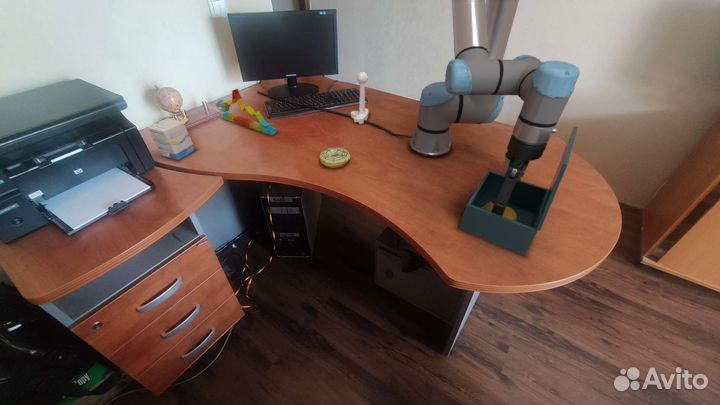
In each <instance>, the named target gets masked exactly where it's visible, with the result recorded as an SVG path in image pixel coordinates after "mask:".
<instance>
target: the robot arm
mask: <svg viewBox="0 0 720 405" xmlns="http://www.w3.org/2000/svg"><path fill="white" fill-rule="evenodd" d="M519 1H520V0H451V10H452V29H453V31H452V33H453V53H454V59H451V60H449V62H448V63H447V66H446V68H445V73H444V74H445V75H444V76H445V79H444V81H435V82H432V83H429V84H426V86H424V87H423V89H422V90H421V93H420V98H419V107H418V114H417V121H416V127H415V130H414V132H413V134H412V135H409V134H402V133H397V132H392V131H391V130H389V129H387V128H386V127H384V126H382V125H380V124H377V123H374V122H372V121H368V120H364V123H366V124H369V125H370V126H371V125H372V126H374V127H376V128H379V129H380V130H383V131H385V132H386V133H388V134H390V135H392V136H395V137H402V138H407V139H409V149H410V150H411V151H412V152H413V153H414V154H416V155H418V156H421V157H424V158H442V157H444V156H446V155H448V154H449V153H450V152H451V147H452V140H451V136H450V129H451V128H450V127H451V124H456V125H457V124H459V125H460V124H461V125H462V124H465V125H468V124H469V125H482V124H485V125H486V124H492V123H493V122H494V121H495V120H496V119H497V118H498V117H499V115H501V114H500V113H501V112H502V110H503V107H504V99H505V96H517V97H519V98H520V99H521V101H523V104H522V106H521V109H520V112H519V114H518V116H517V119H516V121H515V124H514V127H513V129H512V134H511V136H510V139H509V140H508V143H507V146H506V150H507V151H508V152H509V153H510V154H511V155H512V159H511V160H510V162H509V165H508V166H509V167H508V169H507V172H506V174H505V177H506V178H505V180H504V183H503V185H502V187H501V190H500V192H499V194H498V197H497V199H496V201H492V203H494V206H493V209H492V211H491V212H492V213H495V214H498V215H500V216H502V215H503V213H504V211H505V209H506V206H507V202H508V200H509V198H510V197H511V196H512V194H513V192H514V190H515V187H516V185H517V183H518V181H520V180H522V178H523V177H524V175H525V172H526V171H527V168H528V166H529V164H530V162H531V161H538V160H539V159H540V158H542V156H543V155H544V152H545V150H546V148H547V146H548V142H549V140H550V139H551V137H552V134H556V133H557V131H558V128H556V126H557V125H558V122H559V120H560V119H561V116H562V114H563V112H564V110H565V108H566V106H567V104H568V102H569V100H570V99H571V96H572V94H573V93H574V90H575V87H576V84H577V82H578V79H579V76H580V68H579V67H578V66H576V65H575V64H573V63H569V62H567V61H561V60H545V61H542V60H540V58H537V57H536V56H533V55H530V54H521V55H519V56H517V57H515V58H512V59H504V58H505V54H506V50H507V46H508V42H509V39H510V35H511V31H512V28H513V24H514V21H515V17H516V12H517V10H518V6H519V3H520V2H519ZM256 93H257V94H260V95H262V96H264V97H267V98H271V99H274V100H277V101H281V100H282V99H283V98H279V97H277V96H272V95H270V94H267V93H264V92H262V91H259V90H257V91H256ZM292 102H293V101H292ZM292 102H290V103H289V102H287V101H286V102H285V103H289V104H293V103H292ZM296 105H297V106H301V105H300V104H296ZM312 106H313V105H310V106H305V107H306V108H311V109H314V110H320V111H324V112H329V113H333V114H337V115H340V116H345V117H348V118H351V114H348V113H344V112H339V111H336V110H332V109H327V108H323V107H319V108H317V107H318V106H315V107H312Z"/></svg>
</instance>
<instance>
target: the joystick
mask: <svg viewBox="0 0 720 405" xmlns="http://www.w3.org/2000/svg"><path fill="white" fill-rule="evenodd" d="M368 79H369V76H368V74H367V72H365V71H359V72H358V73H357V75H356V80H357V82H358V83H359V103H358V104H359V105H358V106H359V107H358V108H359V109H358V110H352V111H351V112H350V115H351V117H350V118H351V119H353V122H354V123H358V125H363V124H364V123H365V122H364V120H366V121H368V119H369V108H366V83H367V81H368Z"/></svg>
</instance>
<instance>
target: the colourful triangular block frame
mask: <svg viewBox="0 0 720 405" xmlns="http://www.w3.org/2000/svg"><path fill="white" fill-rule="evenodd" d="M231 95H232V96H231V98H232V99H229V100H226V101H224V106H223V107H222V108H219V109H220V111H221V112H223V113H222V114H221V117H222V119H223V120H227V121H229V122H232V123H234V124H238V125H240V126H243V127H246V128H248V129H249V128H250V129H252V130H255V131H258V132H260V133H263V134H266V135H269V136H273V135H275V134H277V128H276V127H274V126H271V125H273V124H275V122H271V123H270V122H268V121H266V120H265V118H264V116H263V115H262V113H261V111H260V110H258V111H255V110H254V109H253V107H252V106H251V105H250V104H249V105H247V106H246V105H245V101H244V100H243V98H242V95H241V93H240V91H239V89H238V88H235V89H233V90H232V91H231ZM234 104H237V105H238V106H239V108H240V111H241V112H242V113H243V112H245V111H246V112H247V113H248V114H249V116H250V117H252V116H255V117H256V119H257V120H258V121H255V120H252V119H249V118H246V117H243V116H240V115H237V114H234V113H231V112H229V111H230V106H233V105H234Z"/></svg>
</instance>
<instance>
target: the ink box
mask: <svg viewBox="0 0 720 405" xmlns="http://www.w3.org/2000/svg"><path fill="white" fill-rule="evenodd" d="M147 129H148V131H149V133H150V135H151V137H152V139H153V141H154V143H155V144H156V146H157V149H158V150H159V152H160V154H161V156H163V157H166V158H169V159H172V160H175V161H180V160H182V158H183V159H184V158H185V157H186V156H188V155H189V154H191V153H193V152H194V151H196V148H195V145H194V143H193V141H192V139H191V136H190V134H189V131H188V129H187V127H186V125H185V122H184V121H181V120H178V119H174V118H171V117H167V118H164V119H162V120H160V121H157V122H154V123H153V124H151V125H150V126H147Z"/></svg>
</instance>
